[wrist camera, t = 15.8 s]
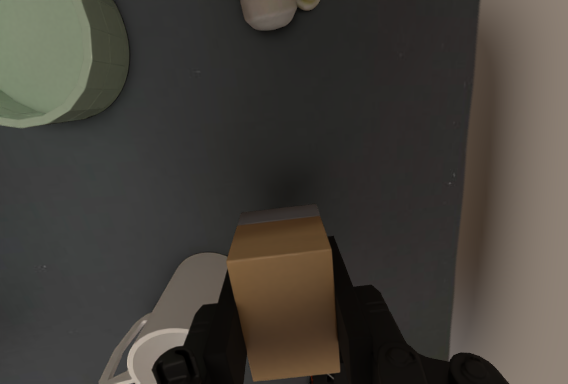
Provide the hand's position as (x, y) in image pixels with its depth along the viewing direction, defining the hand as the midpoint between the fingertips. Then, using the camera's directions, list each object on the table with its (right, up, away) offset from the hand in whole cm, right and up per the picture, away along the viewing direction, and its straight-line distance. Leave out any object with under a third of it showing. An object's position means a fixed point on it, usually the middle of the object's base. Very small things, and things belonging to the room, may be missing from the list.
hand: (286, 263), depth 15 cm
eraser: (0, 0, 0) cm, 0 cm away
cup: (-10, -7, +16) cm, 20 cm away
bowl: (-19, +16, +7) cm, 26 cm away
